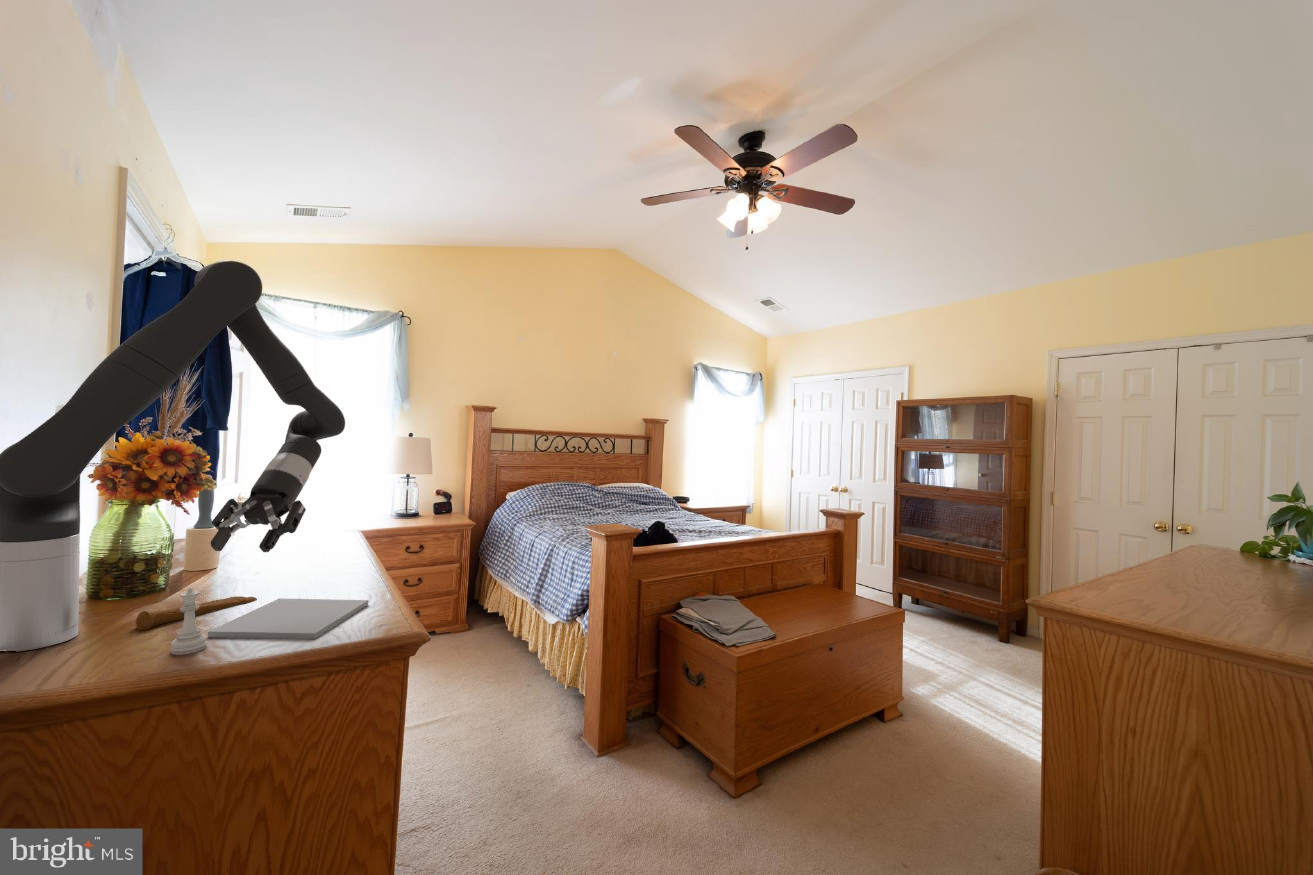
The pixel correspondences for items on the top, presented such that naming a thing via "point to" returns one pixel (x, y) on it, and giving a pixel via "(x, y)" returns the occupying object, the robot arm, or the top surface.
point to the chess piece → (189, 628)
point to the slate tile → (290, 619)
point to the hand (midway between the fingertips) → (239, 549)
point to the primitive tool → (169, 615)
